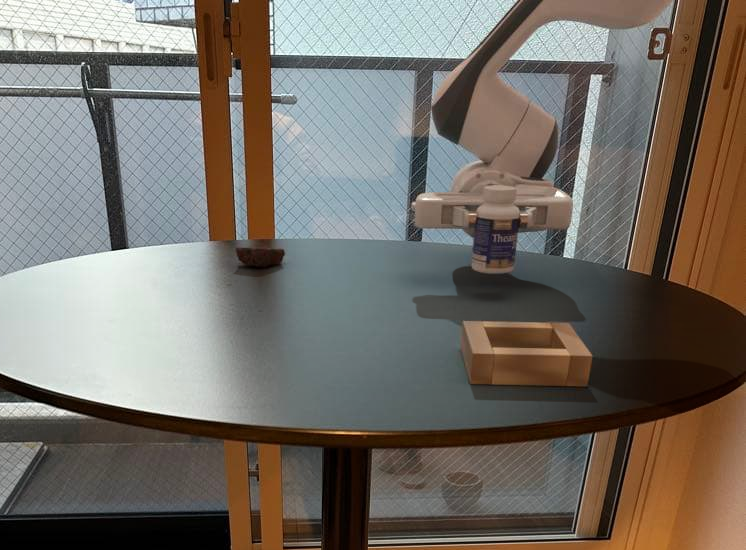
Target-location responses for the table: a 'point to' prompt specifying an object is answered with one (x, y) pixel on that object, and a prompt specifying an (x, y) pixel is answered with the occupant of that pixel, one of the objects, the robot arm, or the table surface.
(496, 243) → the pill bottle
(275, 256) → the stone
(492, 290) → the table surface
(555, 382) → the socket block
